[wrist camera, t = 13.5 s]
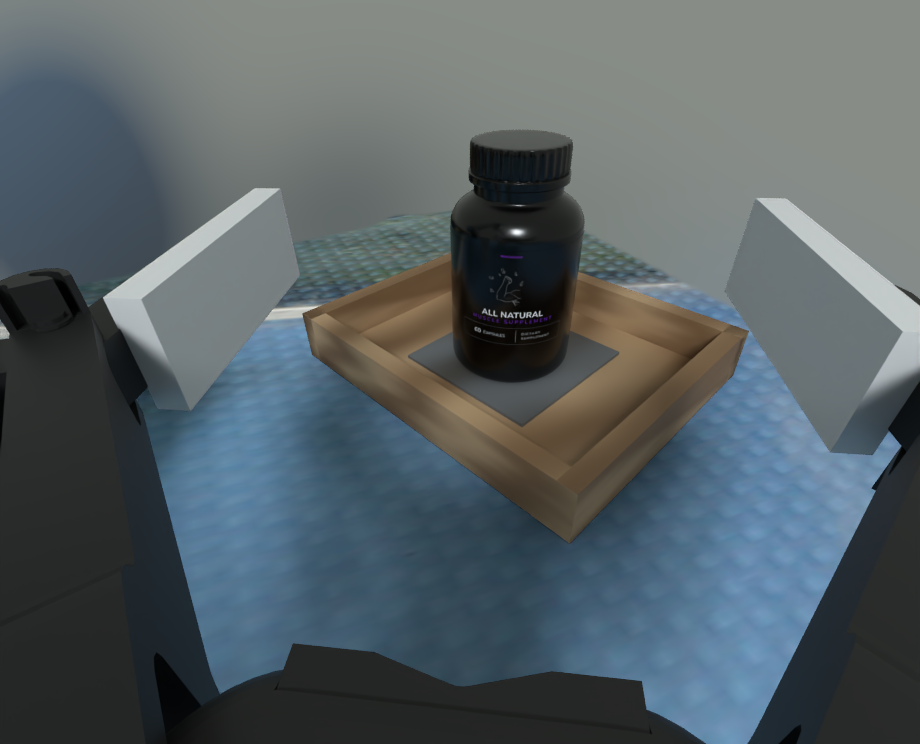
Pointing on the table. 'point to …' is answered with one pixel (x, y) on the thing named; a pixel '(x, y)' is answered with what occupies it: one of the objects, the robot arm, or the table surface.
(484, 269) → the supplement bottle
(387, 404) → the tray
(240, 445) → the table surface
